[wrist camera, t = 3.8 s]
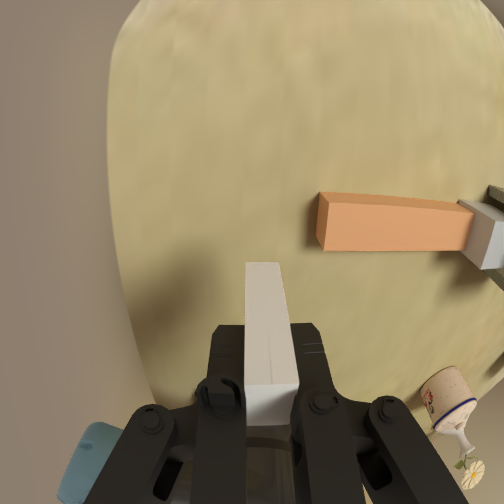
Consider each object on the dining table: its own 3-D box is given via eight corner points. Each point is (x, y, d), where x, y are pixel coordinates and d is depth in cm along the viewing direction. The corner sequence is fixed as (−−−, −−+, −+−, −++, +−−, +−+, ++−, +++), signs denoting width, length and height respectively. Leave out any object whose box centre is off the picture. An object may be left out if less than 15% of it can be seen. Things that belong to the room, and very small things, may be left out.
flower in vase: (474, 400, 47) (503, 466, 25) (448, 423, 52) (472, 487, 30) (451, 405, 45) (483, 482, 23) (423, 429, 50) (447, 502, 28)
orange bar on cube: (314, 240, 24) (332, 276, 19) (319, 185, 22) (342, 209, 17) (479, 242, 25) (509, 267, 19) (489, 204, 22) (523, 224, 17)
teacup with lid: (415, 384, 37) (437, 437, 27) (457, 357, 35) (485, 406, 25) (422, 404, 42) (440, 448, 32) (458, 382, 40) (479, 423, 29)
